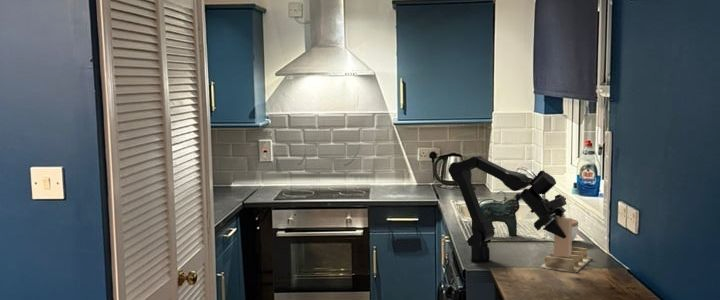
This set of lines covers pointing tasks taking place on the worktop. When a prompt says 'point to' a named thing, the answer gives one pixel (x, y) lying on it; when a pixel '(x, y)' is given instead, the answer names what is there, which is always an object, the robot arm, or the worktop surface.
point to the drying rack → (567, 260)
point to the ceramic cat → (502, 212)
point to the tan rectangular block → (563, 244)
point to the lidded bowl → (574, 230)
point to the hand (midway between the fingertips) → (566, 236)
